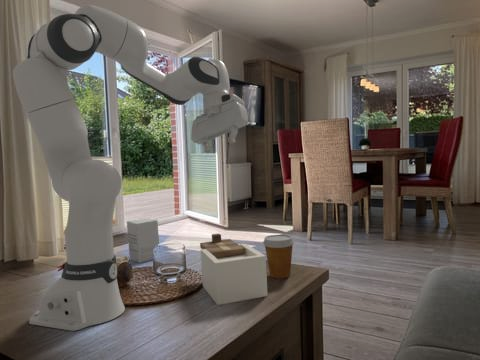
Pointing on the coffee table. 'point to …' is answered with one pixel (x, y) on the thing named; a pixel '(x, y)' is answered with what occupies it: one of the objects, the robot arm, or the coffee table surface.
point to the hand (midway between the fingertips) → (219, 147)
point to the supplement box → (142, 239)
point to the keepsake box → (234, 276)
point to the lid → (222, 247)
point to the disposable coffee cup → (279, 255)
